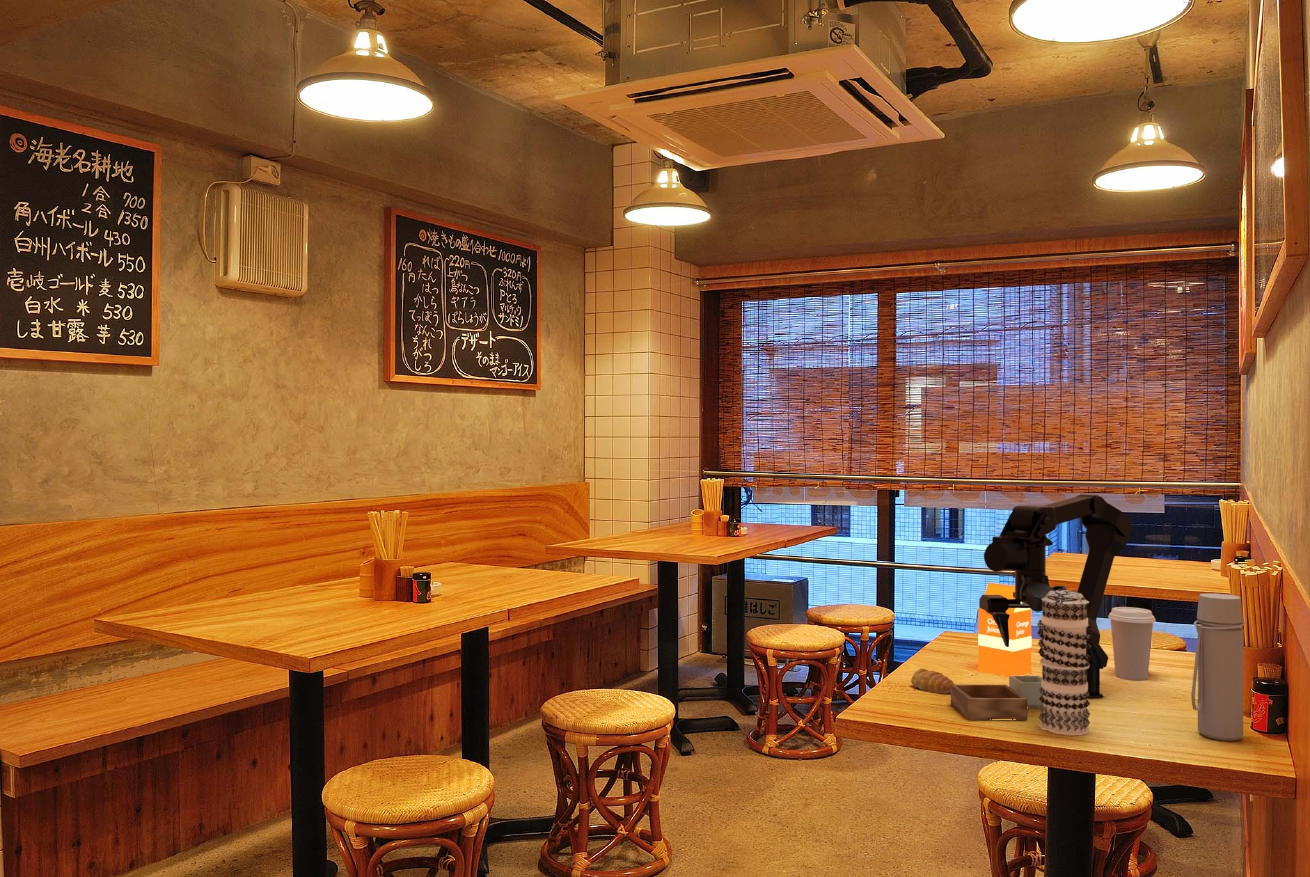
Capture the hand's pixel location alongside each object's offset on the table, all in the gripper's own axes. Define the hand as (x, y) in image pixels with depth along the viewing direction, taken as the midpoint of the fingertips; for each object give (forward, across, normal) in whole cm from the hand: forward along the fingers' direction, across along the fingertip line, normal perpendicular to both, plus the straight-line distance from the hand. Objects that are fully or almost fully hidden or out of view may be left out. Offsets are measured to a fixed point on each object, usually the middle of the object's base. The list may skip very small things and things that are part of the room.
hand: (1029, 646), depth 194 cm
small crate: (+12, 0, 0) cm, 12 cm away
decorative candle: (+12, 0, -17) cm, 20 cm away
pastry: (+12, -16, +12) cm, 23 cm away
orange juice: (+12, +5, +27) cm, 30 cm away
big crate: (+12, -10, -6) cm, 17 cm away
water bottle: (+12, +25, -21) cm, 35 cm away
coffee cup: (+12, +32, +23) cm, 41 cm away
